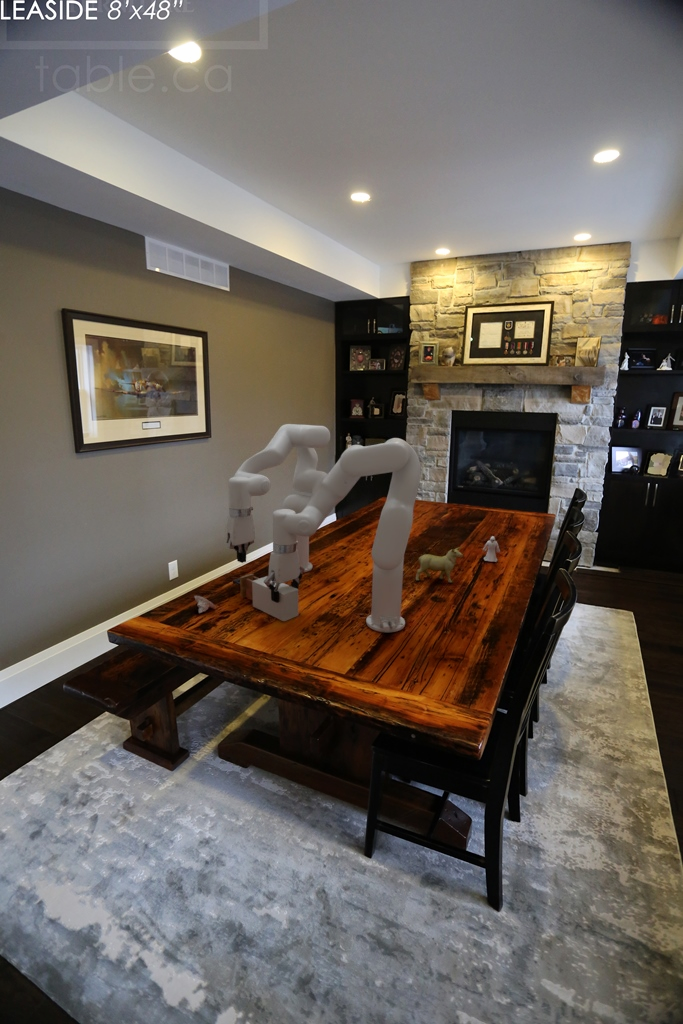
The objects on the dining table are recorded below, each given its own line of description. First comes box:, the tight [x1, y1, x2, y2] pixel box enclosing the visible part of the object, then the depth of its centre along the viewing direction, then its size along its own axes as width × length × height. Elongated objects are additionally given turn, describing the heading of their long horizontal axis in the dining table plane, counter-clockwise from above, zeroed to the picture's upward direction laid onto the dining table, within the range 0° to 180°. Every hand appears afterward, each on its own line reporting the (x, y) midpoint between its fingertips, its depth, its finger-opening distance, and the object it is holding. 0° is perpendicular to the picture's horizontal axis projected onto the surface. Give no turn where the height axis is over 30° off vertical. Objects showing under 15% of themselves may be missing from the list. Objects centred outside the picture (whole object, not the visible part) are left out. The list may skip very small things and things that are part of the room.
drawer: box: [232, 573, 261, 601], centre depth 177 cm, size 21×5×8 cm, turn 47°
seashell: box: [193, 595, 217, 614], centre depth 168 cm, size 8×5×8 cm
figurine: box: [482, 535, 501, 563], centre depth 223 cm, size 8×8×12 cm
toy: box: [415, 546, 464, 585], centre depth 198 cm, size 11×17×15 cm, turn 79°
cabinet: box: [252, 575, 300, 622], centre depth 170 cm, size 16×6×9 cm, turn 47°
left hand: (241, 561), depth 180 cm, fingers closed
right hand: (285, 597), depth 166 cm, fingers open, 8 cm apart
